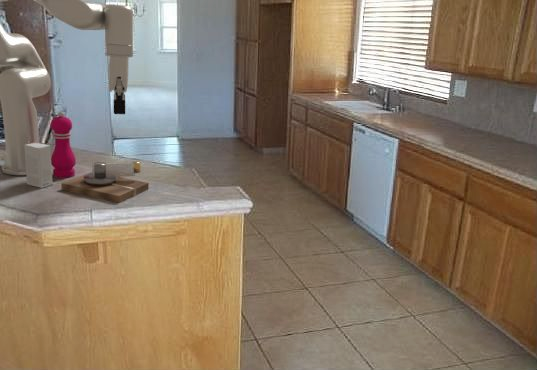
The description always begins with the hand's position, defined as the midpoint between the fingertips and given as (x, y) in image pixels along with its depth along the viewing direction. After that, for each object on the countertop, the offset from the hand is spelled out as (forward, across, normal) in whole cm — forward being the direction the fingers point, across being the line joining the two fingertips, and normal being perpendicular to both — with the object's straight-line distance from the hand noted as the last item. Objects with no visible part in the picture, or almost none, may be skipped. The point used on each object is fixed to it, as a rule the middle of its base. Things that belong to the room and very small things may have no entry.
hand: (119, 110), depth 152 cm
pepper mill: (+23, -8, -17) cm, 29 cm away
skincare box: (+23, +1, -23) cm, 32 cm away
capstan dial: (+20, +4, -2) cm, 21 cm away
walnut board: (+22, +6, -4) cm, 23 cm away
